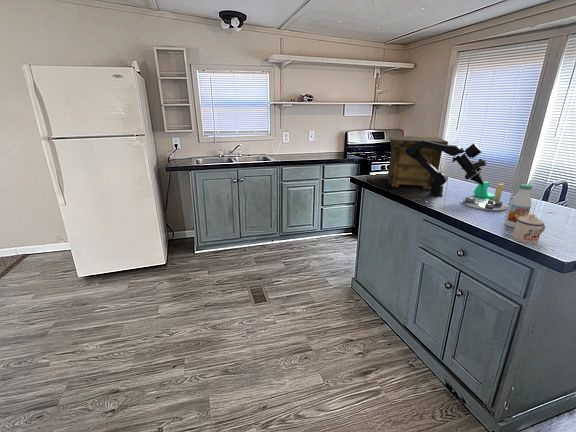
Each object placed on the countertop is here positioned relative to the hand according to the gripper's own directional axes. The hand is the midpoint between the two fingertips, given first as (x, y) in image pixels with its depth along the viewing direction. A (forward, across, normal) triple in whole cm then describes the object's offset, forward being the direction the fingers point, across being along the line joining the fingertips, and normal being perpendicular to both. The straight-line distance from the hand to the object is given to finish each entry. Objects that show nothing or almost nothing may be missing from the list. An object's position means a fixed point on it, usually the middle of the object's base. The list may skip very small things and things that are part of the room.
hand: (483, 184), depth 176 cm
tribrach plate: (+10, -4, +6) cm, 12 cm away
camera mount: (+9, +16, +8) cm, 20 cm away
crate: (-26, +21, +42) cm, 54 cm away
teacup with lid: (+26, -50, -10) cm, 57 cm away
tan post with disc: (+13, -7, +1) cm, 15 cm away
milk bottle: (+22, -33, -6) cm, 40 cm away
